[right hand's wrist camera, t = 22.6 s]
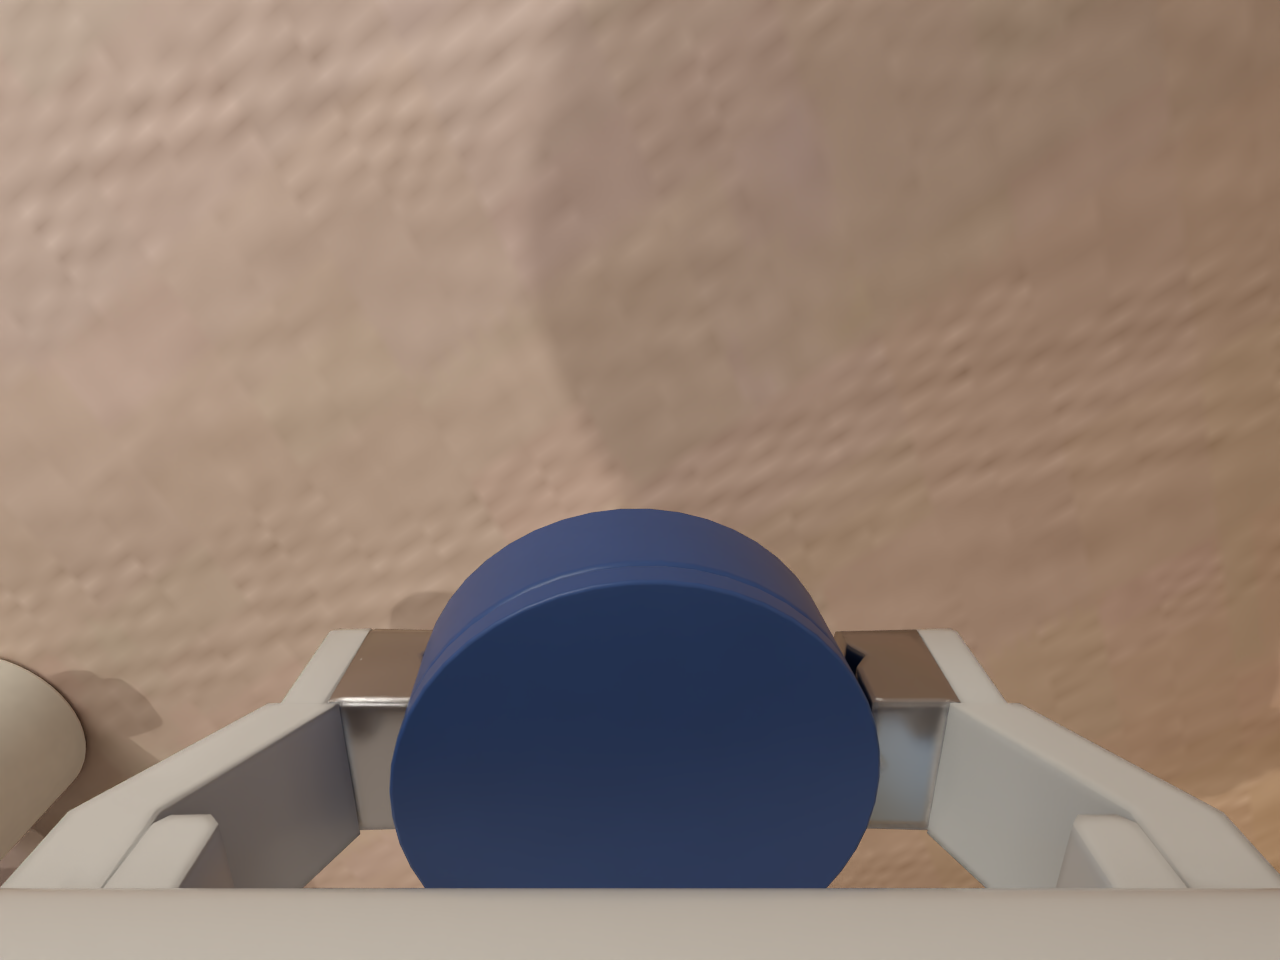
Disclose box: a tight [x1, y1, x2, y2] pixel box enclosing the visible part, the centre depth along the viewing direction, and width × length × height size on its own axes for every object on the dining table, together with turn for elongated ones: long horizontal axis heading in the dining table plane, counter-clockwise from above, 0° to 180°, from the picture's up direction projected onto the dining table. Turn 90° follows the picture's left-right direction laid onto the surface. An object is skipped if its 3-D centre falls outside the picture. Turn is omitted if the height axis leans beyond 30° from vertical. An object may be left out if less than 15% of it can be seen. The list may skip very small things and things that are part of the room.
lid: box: [389, 509, 880, 888], centre depth 9 cm, size 5×5×2 cm
